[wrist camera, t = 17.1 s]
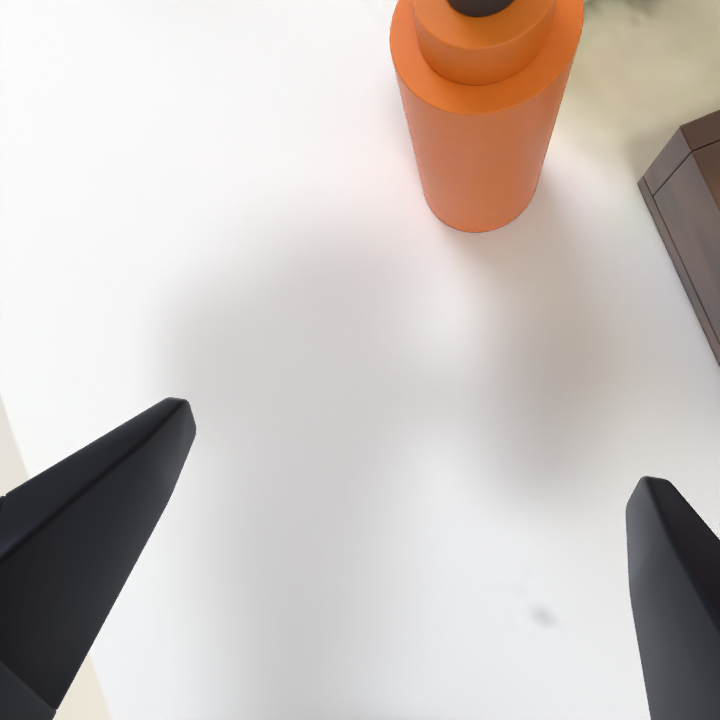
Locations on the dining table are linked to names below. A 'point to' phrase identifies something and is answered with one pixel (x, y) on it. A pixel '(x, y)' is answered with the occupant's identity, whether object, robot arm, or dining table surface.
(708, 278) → the crate
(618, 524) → the dining table surface
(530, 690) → the dining table surface
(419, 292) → the dining table surface
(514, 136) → the orange bottle
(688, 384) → the dining table surface
